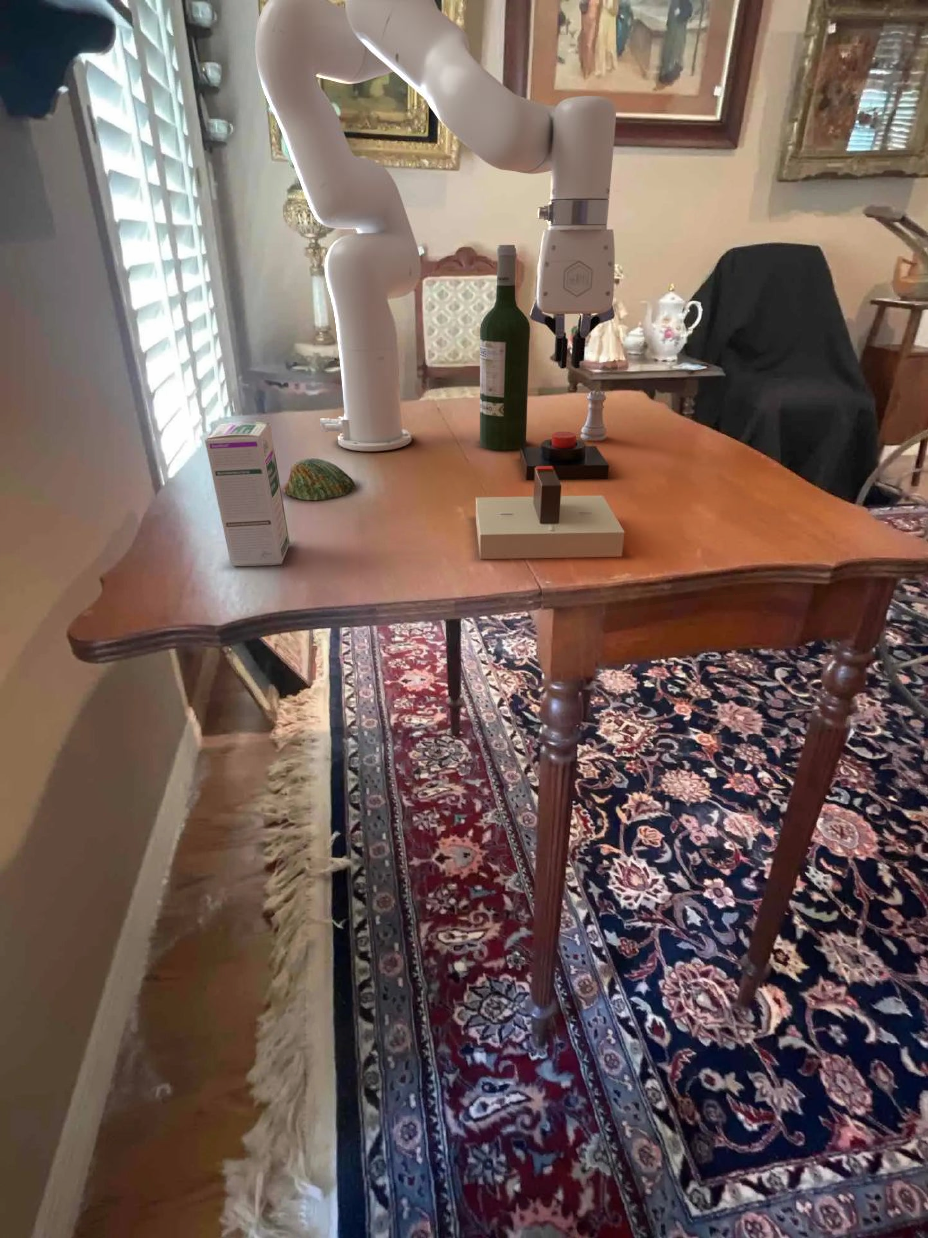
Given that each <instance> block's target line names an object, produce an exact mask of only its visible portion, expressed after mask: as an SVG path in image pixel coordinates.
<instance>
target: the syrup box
mask: <svg viewBox="0 0 928 1238" xmlns="http://www.w3.org/2000/svg"><path fill="white" fill-rule="evenodd" d="M204 443H205V448H206V453H207V458H208V462H209V467H210V472H211V477H212V481H213V486H214V492H215V495H216V501H217V506H218V511H219V515H220V519H221V524H222V529H223V533H224V538H225V542H226V543H225V544H226V547H227V553H228V557H229V562H230V565H231V566H233V567H259V566H261V567H262V566H276V565H277V566H278V565H282V564H283V561H284V558H285V557H286V554H287V553H288V549H289V546H290V536H289V531H288V525H287V518H286V512H285V507H284V501H283V494H282V488H281V482H280V476H279V469H278V463H277V457H276V452H275V447H274V440H273V434H272V428H271V424H270V422H264V421H237V422H229V423H228V422H227V423H218V424H217V426H216V428H215V429H214V430H213V431H212V432H210V434H209V435H207V437H206V438H205V439H204Z"/></svg>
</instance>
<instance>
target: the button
mask: <svg viewBox="0 0 928 1238" xmlns="http://www.w3.org/2000/svg"><path fill="white" fill-rule="evenodd" d="M551 439H552V444H551V446H554V447H559V448H571V447H576V440H577V434H576V433H574V432H570V431H556V432H553V433H552V434H551Z"/></svg>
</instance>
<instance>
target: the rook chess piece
mask: <svg viewBox="0 0 928 1238" xmlns="http://www.w3.org/2000/svg"><path fill="white" fill-rule="evenodd" d="M605 392H606V391H602V390H598V391H597V390H594V389H593V390H590V391H589V394H588V396H586V399H587V401H588V403H589V404H588V405H587V409H588V412H587V417H586V421H585V423H584V425H583V427H582V428H581V430H580V431H581V434H580V438H581V439H582V441H584V442H591V443H597V442H603V441H604V440H606V438H607V436H606V435H605V434H606V433H607V429H606V427H605V424H604V417H603V412H604V408H605V406H604V402H605V401H606V399H607V396H606V395H605Z"/></svg>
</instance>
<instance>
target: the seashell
mask: <svg viewBox="0 0 928 1238" xmlns="http://www.w3.org/2000/svg"><path fill="white" fill-rule="evenodd" d="M355 483H356V482H354V480H353V479H352V478H351V476H350V475H348V474H347V473H346V472H345V471H344V470H342V468H340V467H339V466H338V465H336V464H334V463H332V462H330V461H327V460H324V459H320V458H306V459H305V458H304V459H302V460H301V459H300V460H298V461H295V462H294V463H293V464H292V465H291V467H290V471H289V476H288V480H287V482H286V484H285V485H284V487H283V492H284V494H286V495H288V497H292V498H293V499H299V500H306V501H321V500H322V501H323V500H324V501H325V500H328V499H335V498H337V497H339V498H340V497H341V496H345V495H346V494H349V493H350V492H352V490H354V489H355V488H356V484H355Z"/></svg>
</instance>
